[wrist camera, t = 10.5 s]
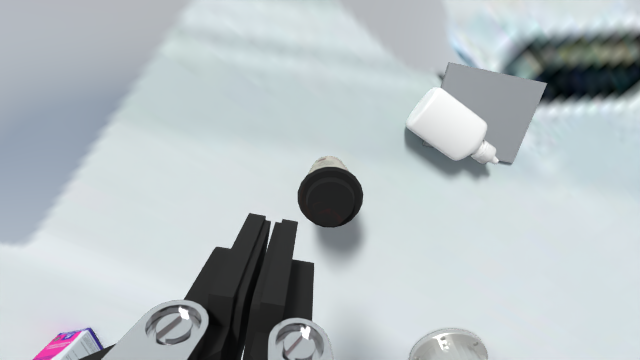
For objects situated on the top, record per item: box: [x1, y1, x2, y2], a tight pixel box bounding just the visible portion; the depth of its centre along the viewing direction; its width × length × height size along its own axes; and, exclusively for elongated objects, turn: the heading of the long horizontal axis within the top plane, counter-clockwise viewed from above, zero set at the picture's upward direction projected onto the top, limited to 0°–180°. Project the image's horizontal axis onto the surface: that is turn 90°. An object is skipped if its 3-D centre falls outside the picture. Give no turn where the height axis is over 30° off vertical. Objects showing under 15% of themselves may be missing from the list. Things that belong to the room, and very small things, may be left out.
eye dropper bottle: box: [405, 87, 499, 164], centre depth 36 cm, size 4×6×12 cm
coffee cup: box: [298, 156, 363, 227], centre depth 35 cm, size 7×7×10 cm
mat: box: [422, 62, 547, 163], centre depth 37 cm, size 12×10×1 cm
